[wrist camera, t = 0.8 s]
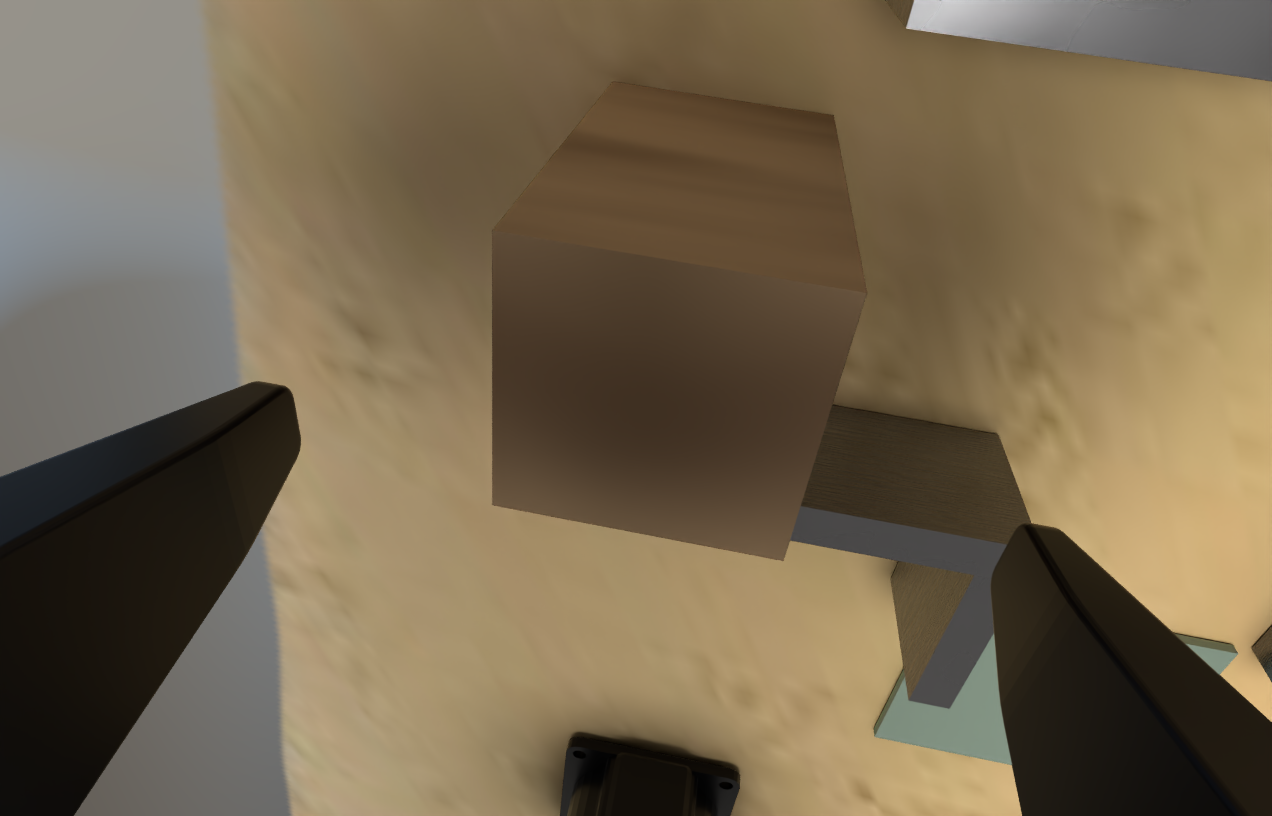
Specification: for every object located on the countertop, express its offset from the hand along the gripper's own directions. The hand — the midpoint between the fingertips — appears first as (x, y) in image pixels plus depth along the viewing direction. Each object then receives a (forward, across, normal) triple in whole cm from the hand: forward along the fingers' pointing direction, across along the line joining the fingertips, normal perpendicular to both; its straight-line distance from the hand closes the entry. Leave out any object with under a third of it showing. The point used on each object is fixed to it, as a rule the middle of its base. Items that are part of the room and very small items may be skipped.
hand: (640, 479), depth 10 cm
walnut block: (+9, 0, 0) cm, 9 cm away
